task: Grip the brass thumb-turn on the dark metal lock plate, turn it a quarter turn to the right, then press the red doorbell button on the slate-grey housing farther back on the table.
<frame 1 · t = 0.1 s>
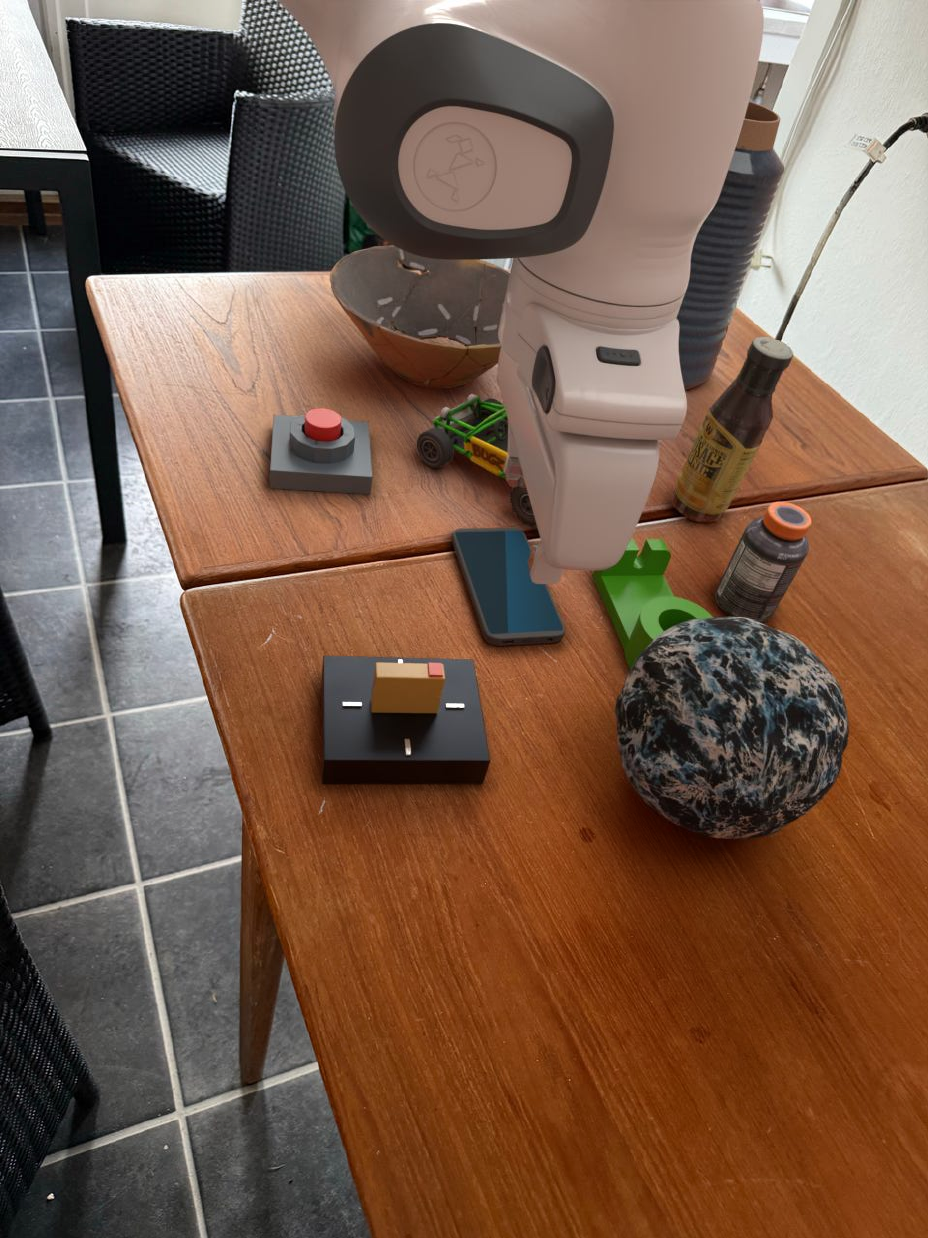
hand: (528, 525, 56), 21 cm above the table, tool pointing down, fingers open, 8 cm apart
lock plate: (399, 730, 68), on the table
bell housing: (320, 462, 91), on the table
sauce bottle: (696, 511, 97), on the table
bowl: (425, 368, 109), on the table
smartphone: (504, 587, 82), on the table
pill bottle: (742, 605, 86), on the table
bell button: (322, 425, 88), point 5 cm above the table, slide at 0.2 cm
motor vehicle: (506, 476, 96), on the table
thumb turn: (407, 687, 65), point 5 cm above the table, hinge at 0.0°
vase: (651, 363, 121), on the table
decorative stone: (692, 785, 69), on the table
tape dispenser: (647, 631, 81), on the table
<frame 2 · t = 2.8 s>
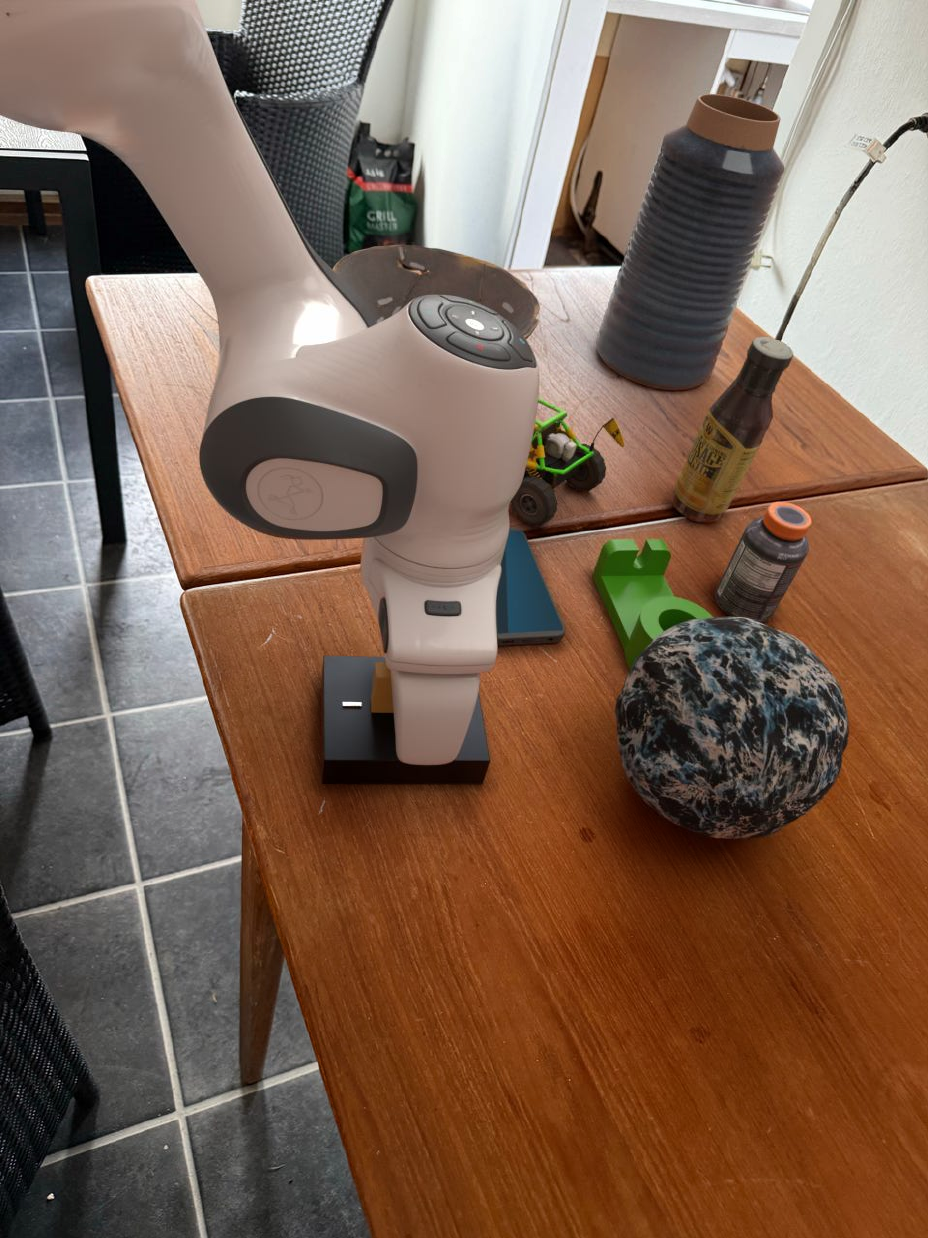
hand: (405, 697, 65), 4 cm above the table, tool pointing down, fingers closed on thumb turn
thumb turn: (407, 687, 65), point 5 cm above the table, hinge at 0.0°, touching gripper
everything else where it was.
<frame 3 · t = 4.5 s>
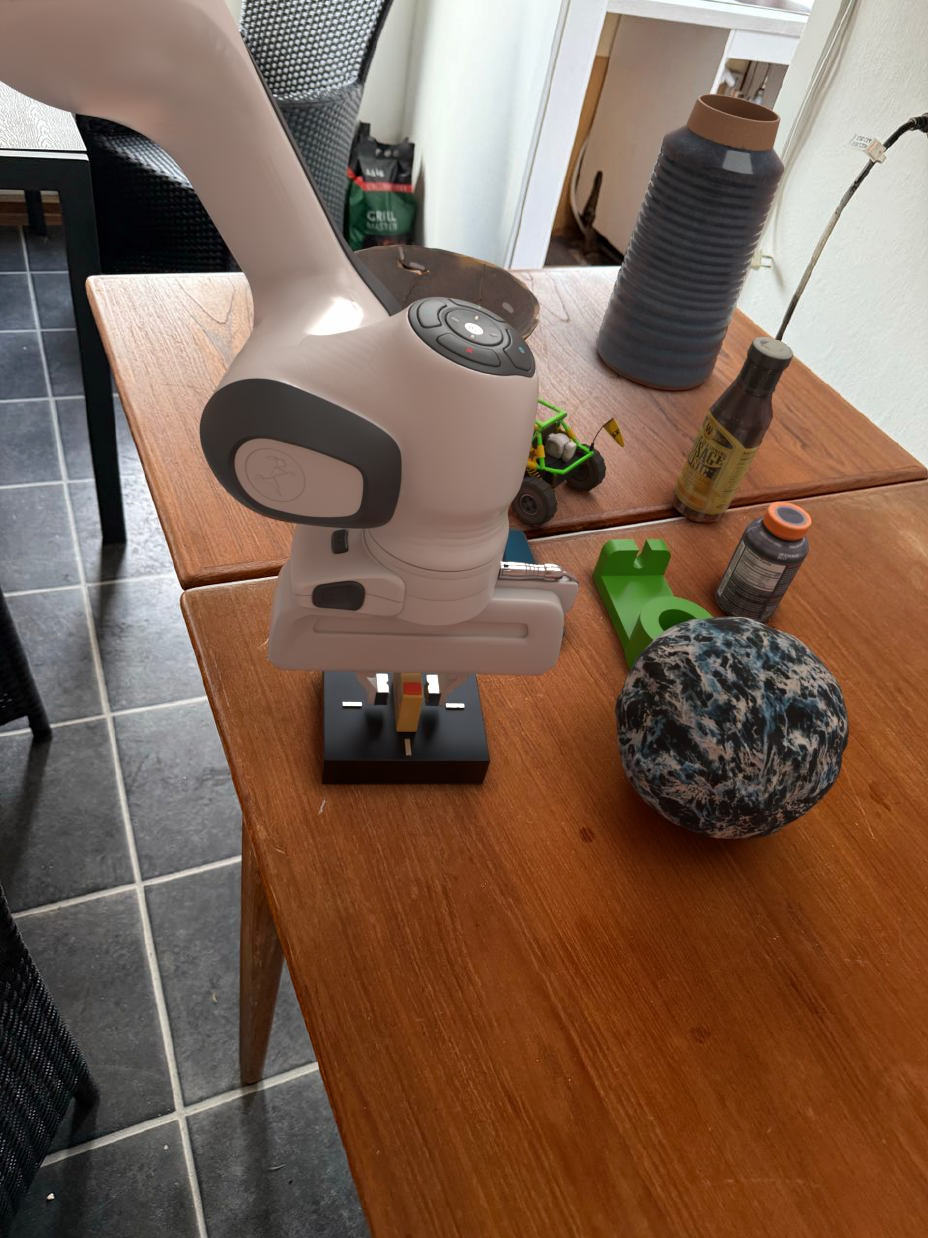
hand: (405, 699, 66), 4 cm above the table, tool pointing down, fingers open, 3 cm apart
thumb turn: (407, 687, 65), point 5 cm above the table, hinge at -90.0°
everything else where it was.
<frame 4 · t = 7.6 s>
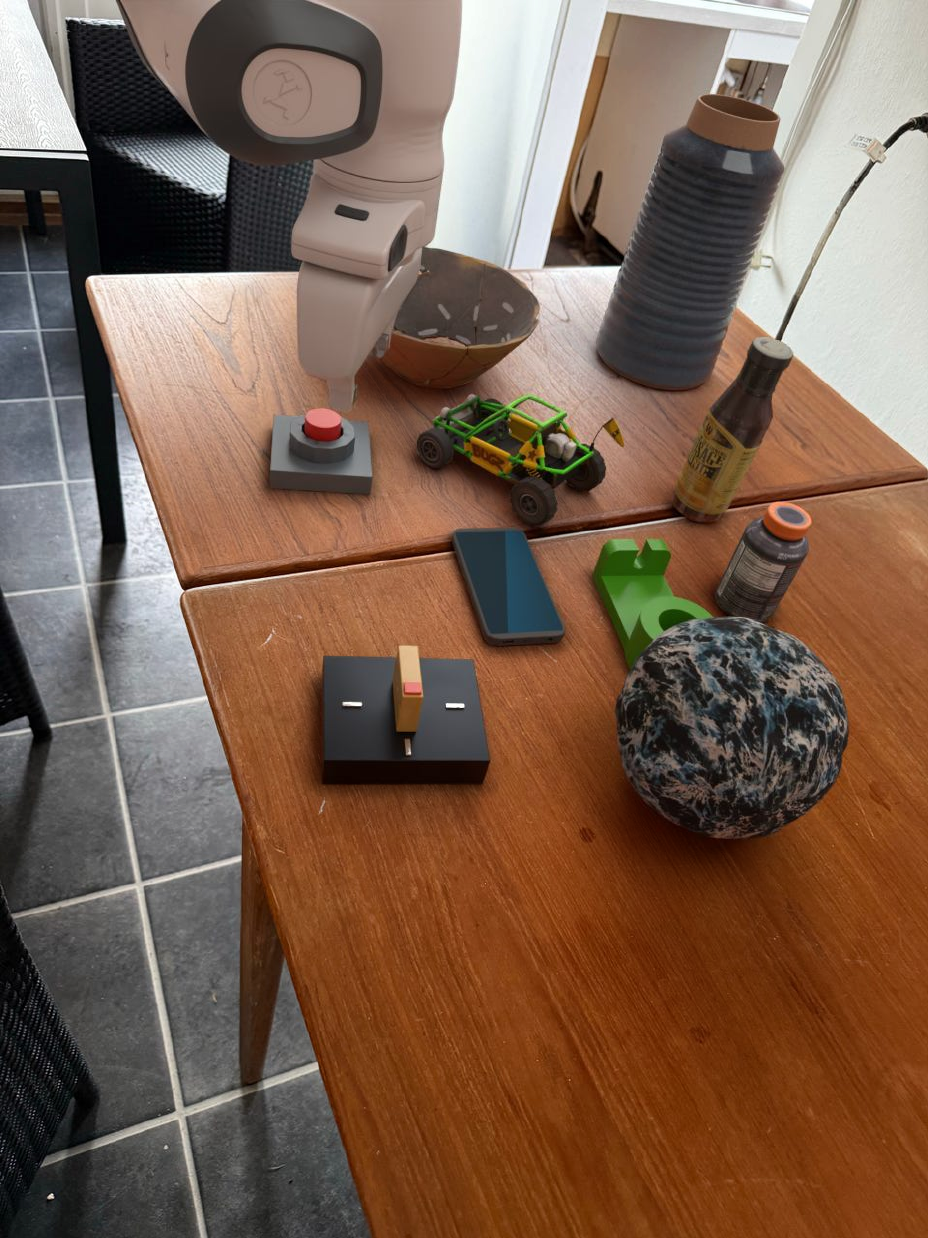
hand: (360, 378, 71), 17 cm above the table, tool pointing down, fingers open, 8 cm apart
nothing on the table moved.
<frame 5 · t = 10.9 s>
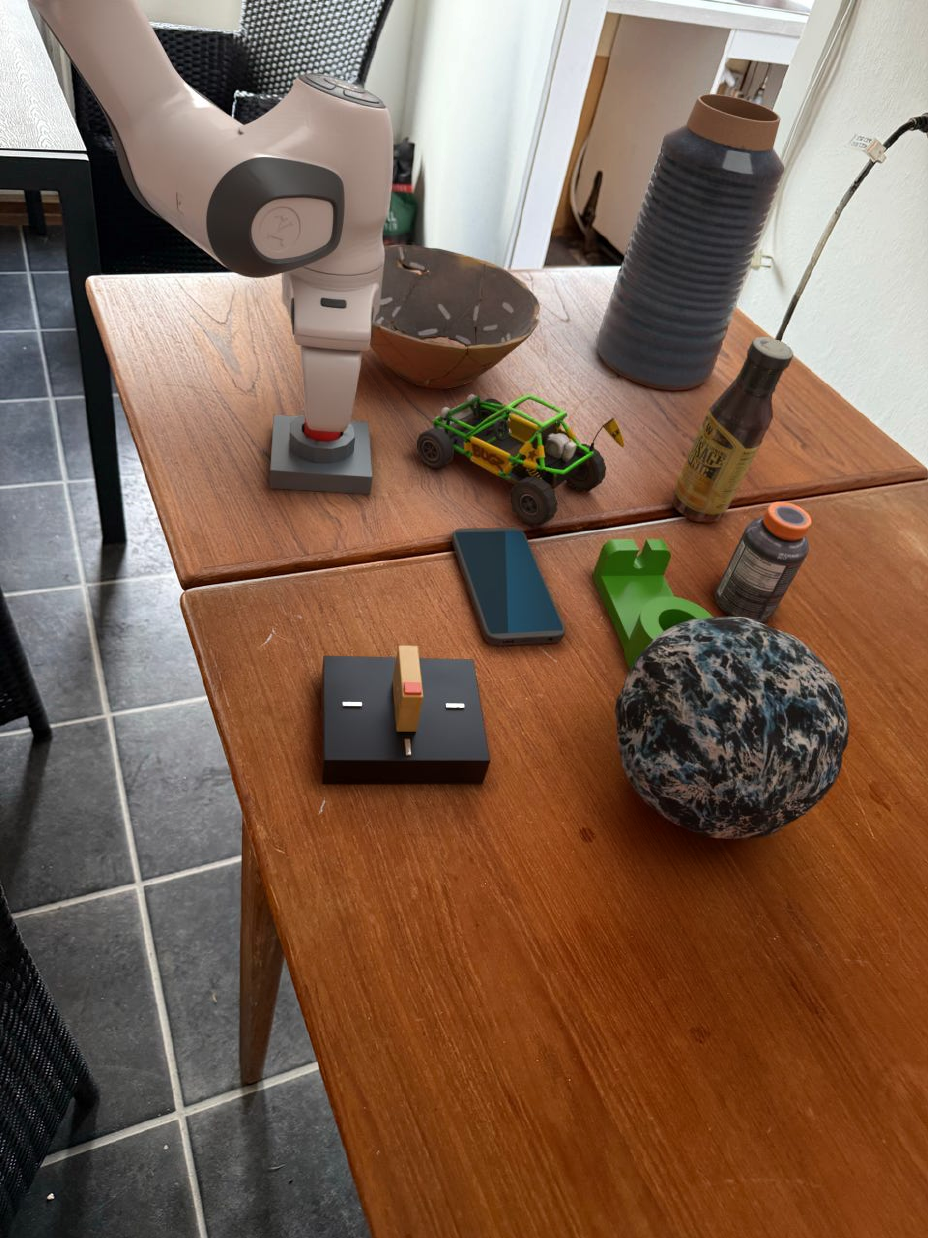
hand: (324, 418, 88), 5 cm above the table, tool pointing down, fingers closed, pressing on bell button
bell button: (322, 426, 88), point 4 cm above the table, slide at -0.1 cm, touching gripper
everything else where it was.
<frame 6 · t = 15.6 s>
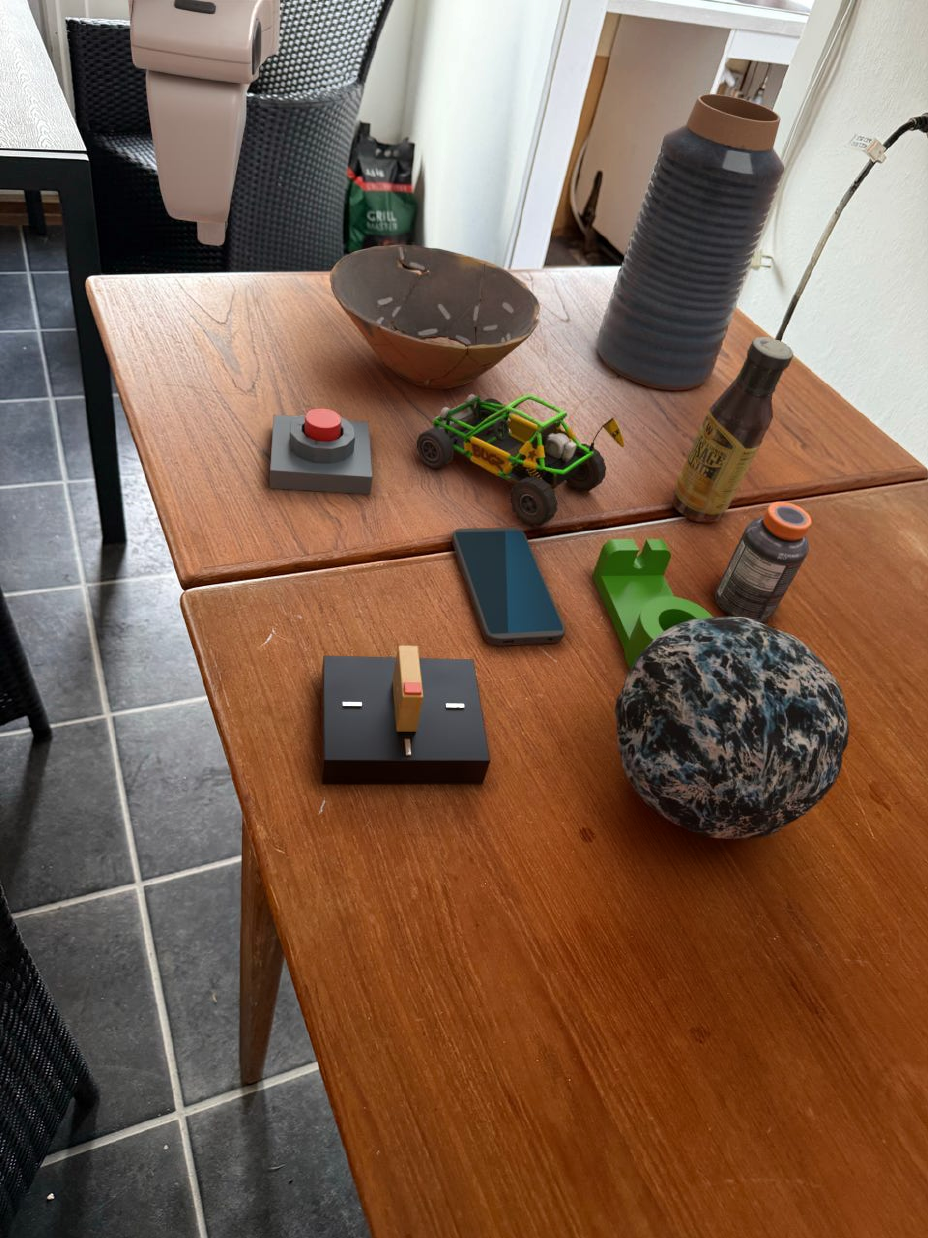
hand: (213, 236, 63), 27 cm above the table, tool pointing down, fingers closed
bell button: (322, 425, 88), point 5 cm above the table, slide at 0.1 cm
everything else where it was.
at the end: thumb turn at -90° (first picture: +0°); bell button pushed in 1.0 cm at the most during the clip, back to where it started at the end; bell button slide at 0.1 cm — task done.
